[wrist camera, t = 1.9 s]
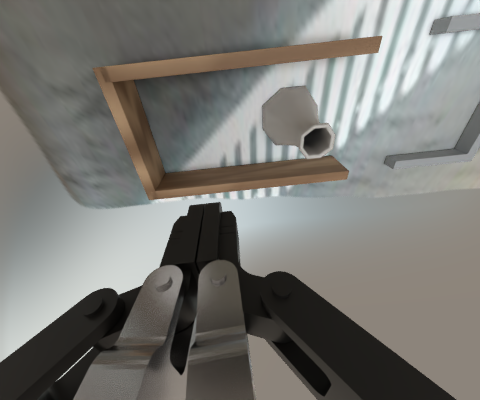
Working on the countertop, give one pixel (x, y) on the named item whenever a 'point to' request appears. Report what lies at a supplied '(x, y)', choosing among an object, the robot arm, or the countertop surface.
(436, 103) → the countertop surface
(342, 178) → the open wooden frame
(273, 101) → the flask
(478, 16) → the dock
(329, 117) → the countertop surface
